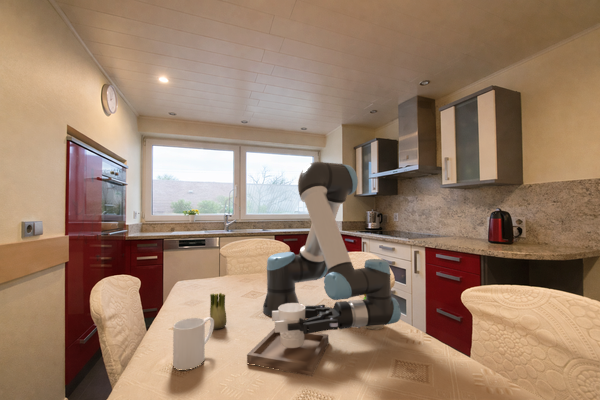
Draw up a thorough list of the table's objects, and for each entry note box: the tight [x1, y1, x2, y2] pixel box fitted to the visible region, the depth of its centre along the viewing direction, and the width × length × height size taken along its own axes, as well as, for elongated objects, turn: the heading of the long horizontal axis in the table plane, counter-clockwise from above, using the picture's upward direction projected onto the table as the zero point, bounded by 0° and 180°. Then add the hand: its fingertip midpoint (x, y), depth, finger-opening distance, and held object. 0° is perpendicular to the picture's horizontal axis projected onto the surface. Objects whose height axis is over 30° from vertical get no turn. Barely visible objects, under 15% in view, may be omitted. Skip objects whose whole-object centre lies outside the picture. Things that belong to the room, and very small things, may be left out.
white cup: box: [278, 302, 306, 348], centre depth 77 cm, size 8×8×10 cm
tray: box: [246, 327, 330, 377], centre depth 77 cm, size 18×18×2 cm
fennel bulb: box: [209, 292, 228, 330], centre depth 96 cm, size 6×5×12 cm
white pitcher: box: [172, 316, 214, 370], centre depth 74 cm, size 12×8×10 cm, turn 150°
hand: (273, 321), depth 76 cm, fingers closed on white cup, 7 cm apart
